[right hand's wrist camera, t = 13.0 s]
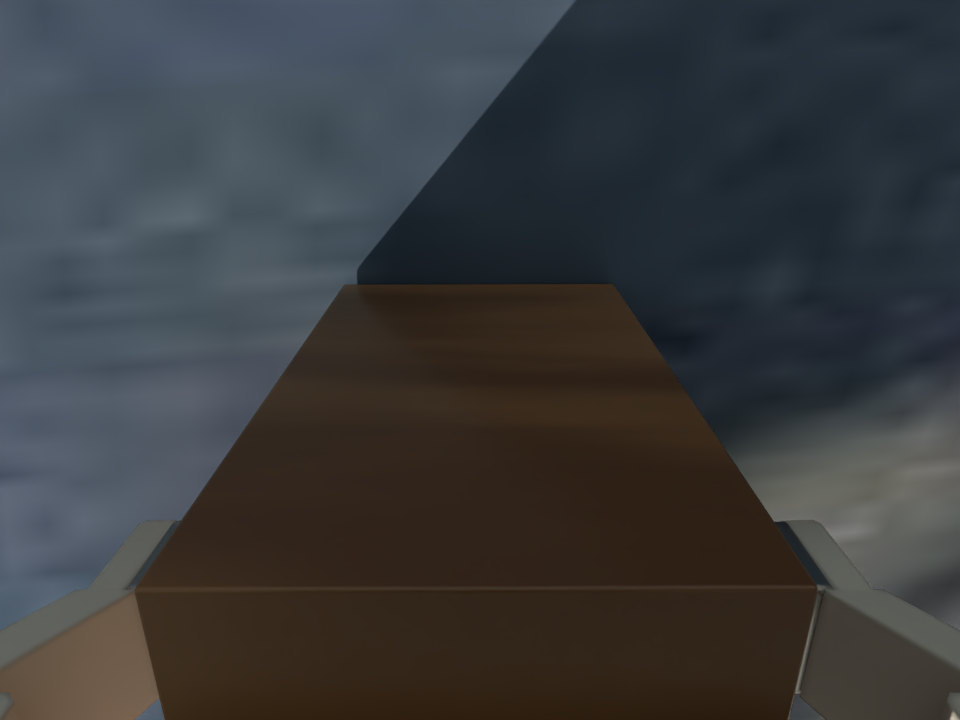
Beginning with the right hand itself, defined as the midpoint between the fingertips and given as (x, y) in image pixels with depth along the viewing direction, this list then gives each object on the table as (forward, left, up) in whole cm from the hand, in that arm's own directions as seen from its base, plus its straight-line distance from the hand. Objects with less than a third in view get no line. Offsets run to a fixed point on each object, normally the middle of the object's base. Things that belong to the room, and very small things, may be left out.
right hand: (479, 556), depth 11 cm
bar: (+6, +5, -4) cm, 9 cm away
